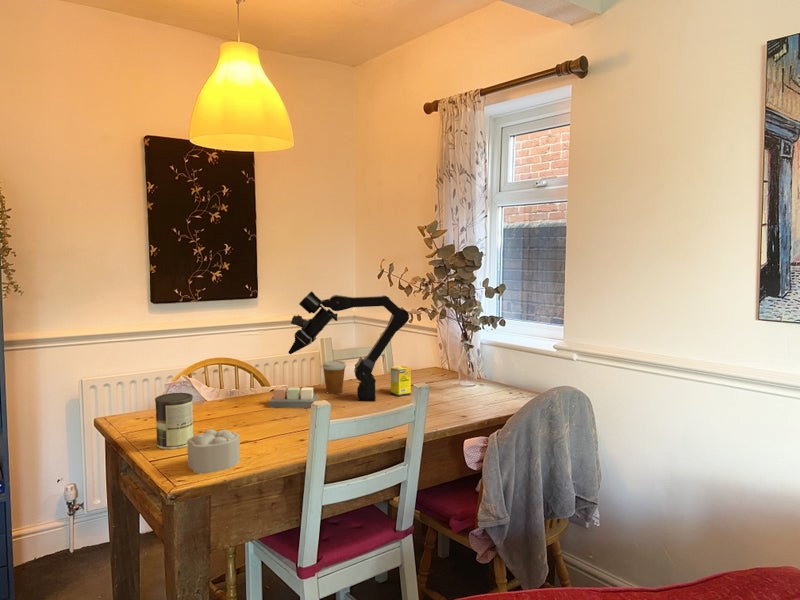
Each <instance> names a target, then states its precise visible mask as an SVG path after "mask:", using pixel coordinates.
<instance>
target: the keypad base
mask: <svg viewBox="0 0 800 600" xmlns="http://www.w3.org/2000/svg"><path fill="white" fill-rule="evenodd" d="M318 399H319V395H318V394H313V399H312V400H301V394H300V399H299V400H287V398H286V399H274V395H273V396H272V397H271V398H269V401H268V409H269V408H270V409H271V408H272V409H311V408H310V407H311V404H312V403H313V402H314V401H317V400H318ZM318 401H319V400H318ZM318 401H317V402H318Z"/></svg>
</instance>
